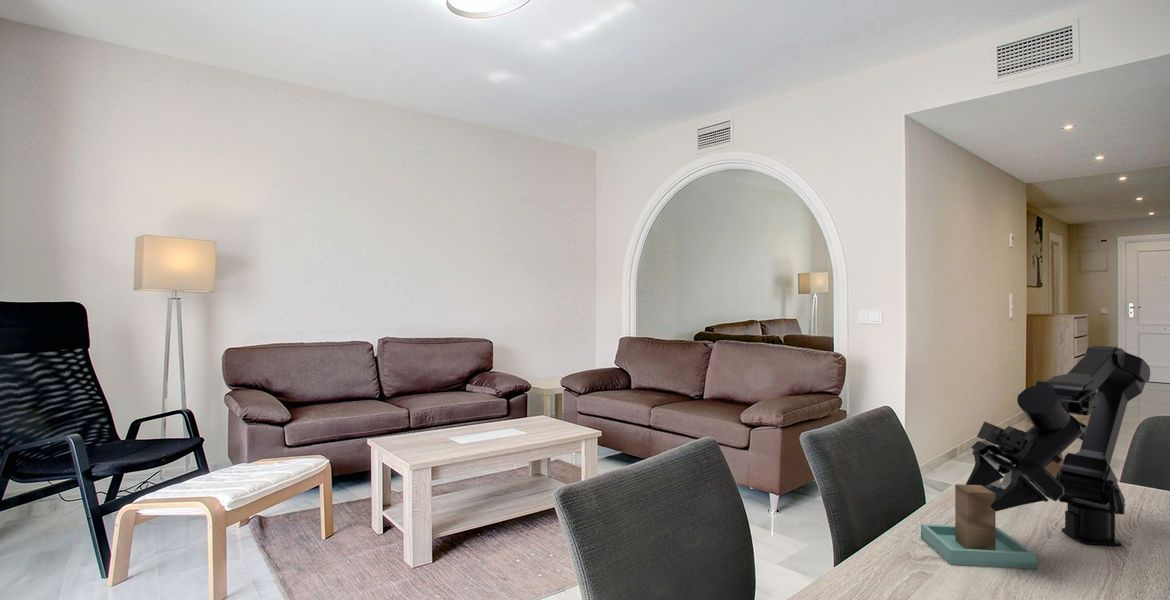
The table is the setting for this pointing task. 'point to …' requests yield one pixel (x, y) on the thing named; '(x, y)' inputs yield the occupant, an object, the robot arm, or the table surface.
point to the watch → (1000, 485)
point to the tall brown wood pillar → (975, 517)
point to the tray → (1004, 555)
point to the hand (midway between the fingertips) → (978, 499)
